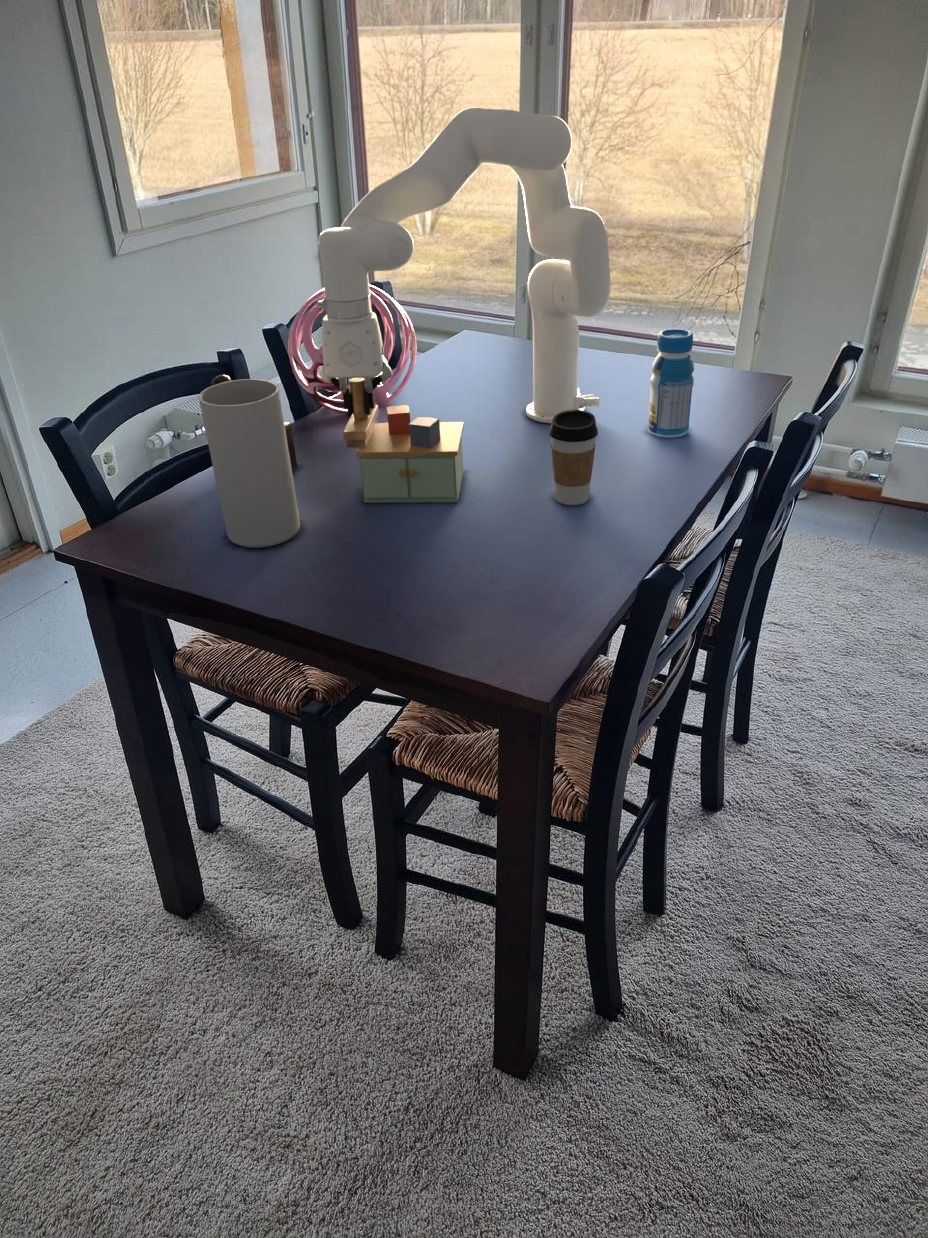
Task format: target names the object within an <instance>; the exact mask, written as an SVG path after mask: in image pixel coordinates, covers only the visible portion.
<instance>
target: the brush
mask: <svg viewBox="0 0 928 1238" xmlns="http://www.w3.org/2000/svg"><path fill="white" fill-rule="evenodd" d="M349 381H350V390H351V398H352V407H353V414H352V415H350V417H349V420H348V421H347V423H346V426H345V427H344V428H343V431H342V434H343V440H344V441H345V445H346V448H347V449H352V448H353V449H355V448H356V449H357V448H360V447H366V446H367V443H368V441H369V439H370V437H371V434H372V432H373V430H374V427H375V425H376V423H378V421H379V418H378V415H379V413H380V411H379V410H380V409H378V405H375V408H374V409H373V410H372V412H371V414H370V415H367V414H366V410H365V401H364V393H365V382H364V378H349Z"/></svg>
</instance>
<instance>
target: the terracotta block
mask: <svg viewBox="0 0 928 1238" xmlns="http://www.w3.org/2000/svg"><path fill="white" fill-rule="evenodd" d="M385 407H386V419H387V423H388V429H389V435H399V434H410V431H409V424H410V423H411V422H412V421H411V411H410V407H409V405H408V404H404V405H403V404H402V405H392V406H385Z"/></svg>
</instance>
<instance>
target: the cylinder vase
mask: <svg viewBox="0 0 928 1238" xmlns="http://www.w3.org/2000/svg"><path fill="white" fill-rule="evenodd" d="M198 401H199V402H198V403H199V406H200V410H201V415H202V421H203V425H204V426H203V427H204V430H205V435H206V439H207V444H208V450H209V454H210V460H211V465H212V468H213V473H214V478H215V484H216V488H217V494H218V498H219V502H220V503H219V504H220V507H221V508H220V509H221V512H222V517H223V522H224V527H225V530H226V535H227V538H228V539H229V540H230V542H232V543H233V544H235V545H236V546H240V547H243V548H251V549H262V548H270V547H273V546H277V545H280V544H283V543H285V542H287V541H289V540H291V539H292V538H294V537H295V536H296V535H297V534H298V532H299V530H300V528H301V520H300V514H299V507H298V501H297V500H298V499H297V494H296V489H295V482H294V477H293V475H294V474H293V472H292V469H291V463H290V456H289V450H288V444H287V437H286V431H285V425H284V422H285V419H284V413H283V407H282V406H283V405H282V400H281V393H280V387H279V385H278V384H277V383H275V382H274V381H271V380H267V379H260V378H258V379H257V378H245V379H244V378H242V379H234V380H231V381H228V382H223V383H219V384H216V385H213V386H212V385H211V386H208V387H207V388H205V389H203V390H202V391H201V392H200V393H199V394H198Z"/></svg>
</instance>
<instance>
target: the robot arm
mask: <svg viewBox="0 0 928 1238" xmlns="http://www.w3.org/2000/svg"><path fill="white" fill-rule="evenodd" d="M572 145H573V138H572V132H571V129H570V128H569V126H568V124H567V123H566V122H565V121H564V120H563V118H560V117H558V116H556V115H550V114H549V115H548V114H540V113H531V112H525V111H518V110H513V109H509V108H495V107H466V108H464V109H462V110H460V111H459V112H457V113H456V114H455V115H454V116H453V117H452V118H451V120H449V122H448V123H447V124H446V125H445V127H443V128H442V130H441V131H440V132H439V133H438V134H437V136H436V137H435V138H434V139H433V140H432V142H431V143H430V144H429V145H428V146H427V147H426V148H425V150H424V151H423V152H422V153H421V154H420V156H419V157H418V158H417V159H416V160H415V161H414V162H413V163H412V164H411V165H409V166H408V167H405V168H404V169H402V170H401V171H399V172H397V173H396V174H394V175H393V176H391V177H389V178H388V179H386V180H384V181H383V182H382V183H380V184H379V185H377V186H375V187H374V188H373V189H371V190H370V191H368V193H367V194H366V195H364V197H362V199H360V201H358V203H357V204H356V205H355V207H354V208H353V209H352V210H351V211H350V212H349V214H348V215H347V216H346V217H345V218H344V220H343V222H342V223H341V226H340V227H332V228H327V229H326V230H323V231H322V232H320V234H319V236H318V240H317V243H318V251H319V252H318V253H319V260H320V268H321V275H322V283H323V285H322V286H323V289H324V293H325V295H324V297H325V299H324V300H322V301H319V300H318V301H317V302H318V303H317V302H316V303H317V306H318V309H322V310H323V311H324V312H325V315H324V316H323V317H322V321H321V322H322V323H321V343H322V344H321V346H322V347H323V362H324V365H323V366H322V368H321V371H320V373H319V377H321V378H322V379H324V380H326V381H329V382H332V384H333V385H335V386H336V387H337V388H338V389H339V390H340V392H341V393H343V401H344V408H343V409H344V410H347V411H348V414H347V416H351V415H352V414H353V407H352V398H351V390H350V385H349V380H350V379H352V378H361V377H364V380H365V385H366V388H365V393H364V401H365V410H366V414H367V415H370V414H371V412H372V410H373V409H374V408H375V404H376V403H375V397H374V389H375V388H376V387H377V386H378V385H379V384H380V383H381V384H382V382H385V381H387V380H388V379H389V378H390V377H391V376H392V374H393V372H394V371H393V369H392V368H391V366H390V364H389V362H388V363H387V361H386V359H385V356H384V349H383V344H384V342H383V338H382V333H381V329H380V324H379V321H378V317H377V314H376V313H375V312H373V310H372V302H371V300H370V289H369V285H370V279H369V273H373V272H390V271H395V270H398V269H400V268H402V267H404V266H405V265H406V264H408V262H410V259H411V258H412V256H413V253H414V239H413V236H412V235H411V233H410V231H409V230H408V229H407V228H405V227H404V226H403V225H401V224H399V223H400V222H402V221H403V220H406V219H408V218H410V217H412V216H415V215H420V214H422V213H428V212H431V211H434V210H437V209H440V208H441V207H444V206H446V205H448V204H449V203H450V202H452V200H453V199H454V198H455V197H456V195H457V194H459V192H460V191H461V189H462V188H463V187H464V186H465V185H466V183H467V182H468V181H469V180H470V179H471V177H472V176H474V174H475V173H476V172H477V170H478V169H479V168H480V167H481V166H483V165H492V166H503V167H504V166H505V167H508V168H510V169H511V171H512V172H513V173H514V174H515V175H516V177H517V179H518V181H519V183H520V186H521V189H522V195H523V203H524V210H525V218H526V226H527V235H528V241H529V244H530V246H531V249H532V250H533V251H534V252H535V253H536V254H538V255H541V256H544V257H548V258H552V259H545V260H542V261H540V262H538V263H537V264H536V265H535V266H534V267H533V268H532V269H531V271H530V272H529V275H528V281H527V294H528V295H527V296H528V300H529V305H530V312H531V317H532V318H531V319H532V390H533V391H532V398H533V399H532V402H531V403H529V404H528V405H527V406H526V408H525V414H526V416H527V417H528V418H529V419H531V420H533V421H536V422H539V423H544V424H552V420H553V418H554V417H555V416H556V415H557V414H559V413H561V412H564V411H568V410H582V411H586V409H585V407H592V408H597V407H598V408H599V407H600V397H594V394H582V393H580V388H579V357H580V355H579V354H580V328H579V323H578V319H577V317H581V318H594V317H597V316H599V315H601V314H602V313H603V312H604V310H605V309H606V308H607V306H608V303H609V300H610V296H611V286H612V285H611V269H610V254H609V253H610V252H609V240H608V231H607V228H606V224H605V222H604V220H603V219H602V218H603V217H601V215H600V214H599V213H598V212H596V211H595V210H593V209H590V208H587V207H580V206H575V205H573V204H572V202H571V199H570V192H569V186H568V178H567V174H566V169H565V168H564V164H565V162H566V161H567V160H568V158H569V156H570V154H571V151H572ZM340 392H339V393H340Z"/></svg>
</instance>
